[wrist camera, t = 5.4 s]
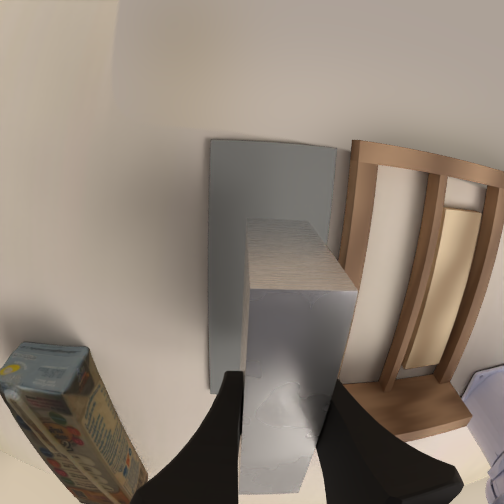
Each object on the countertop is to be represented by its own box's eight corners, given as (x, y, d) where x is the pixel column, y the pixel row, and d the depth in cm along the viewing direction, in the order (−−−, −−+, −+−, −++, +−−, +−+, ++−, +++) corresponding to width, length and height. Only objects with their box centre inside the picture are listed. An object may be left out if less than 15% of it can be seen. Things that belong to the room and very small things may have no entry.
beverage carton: (94, 343, 22) (60, 400, 16) (153, 473, 28) (144, 520, 22) (21, 337, 22) (-17, 383, 16) (92, 464, 28) (78, 506, 22)
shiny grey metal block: (308, 220, 15) (358, 290, 8) (284, 396, 18) (298, 492, 12) (246, 217, 14) (249, 288, 8) (238, 396, 18) (238, 494, 12)
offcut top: (476, 210, 19) (481, 213, 18) (435, 359, 23) (438, 363, 23) (440, 206, 19) (446, 209, 18) (401, 364, 23) (404, 369, 23)
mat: (334, 147, 17) (336, 148, 17) (300, 391, 23) (301, 395, 23) (211, 139, 17) (210, 139, 17) (210, 390, 23) (210, 393, 23)
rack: (499, 171, 18) (556, 186, 12) (438, 382, 24) (466, 425, 19) (351, 139, 17) (397, 142, 12) (311, 396, 24) (325, 454, 18)
